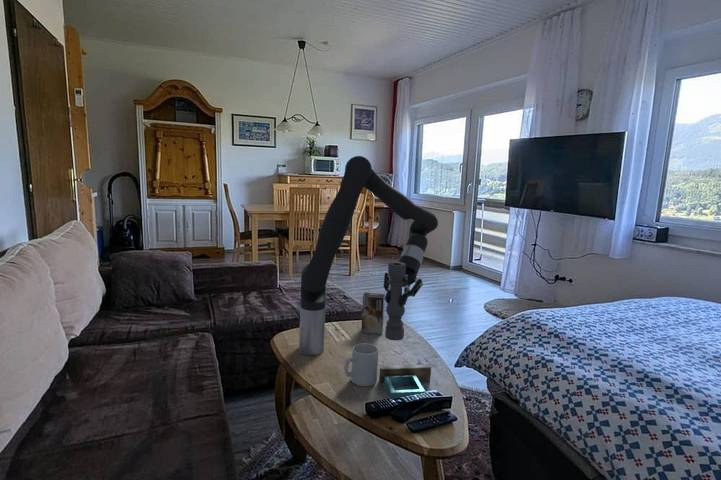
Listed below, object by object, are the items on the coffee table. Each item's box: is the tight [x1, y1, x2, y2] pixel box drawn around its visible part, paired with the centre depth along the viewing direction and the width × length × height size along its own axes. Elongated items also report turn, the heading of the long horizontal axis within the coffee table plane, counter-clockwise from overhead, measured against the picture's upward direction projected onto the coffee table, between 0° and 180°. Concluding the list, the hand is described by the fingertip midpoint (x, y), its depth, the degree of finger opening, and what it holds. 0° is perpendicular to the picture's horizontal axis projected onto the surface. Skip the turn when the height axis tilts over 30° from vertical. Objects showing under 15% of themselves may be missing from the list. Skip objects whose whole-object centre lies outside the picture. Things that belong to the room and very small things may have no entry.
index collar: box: [382, 374, 426, 400], centre depth 126 cm, size 10×10×4 cm
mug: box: [343, 342, 379, 387], centre depth 131 cm, size 12×8×11 cm
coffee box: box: [360, 292, 386, 335], centre depth 173 cm, size 9×6×16 cm
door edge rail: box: [378, 363, 433, 385], centre depth 133 cm, size 17×2×5 cm, turn 100°
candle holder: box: [384, 261, 406, 342], centre depth 133 cm, size 6×6×25 cm
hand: (394, 303), depth 131 cm, fingers closed on candle holder, 4 cm apart
